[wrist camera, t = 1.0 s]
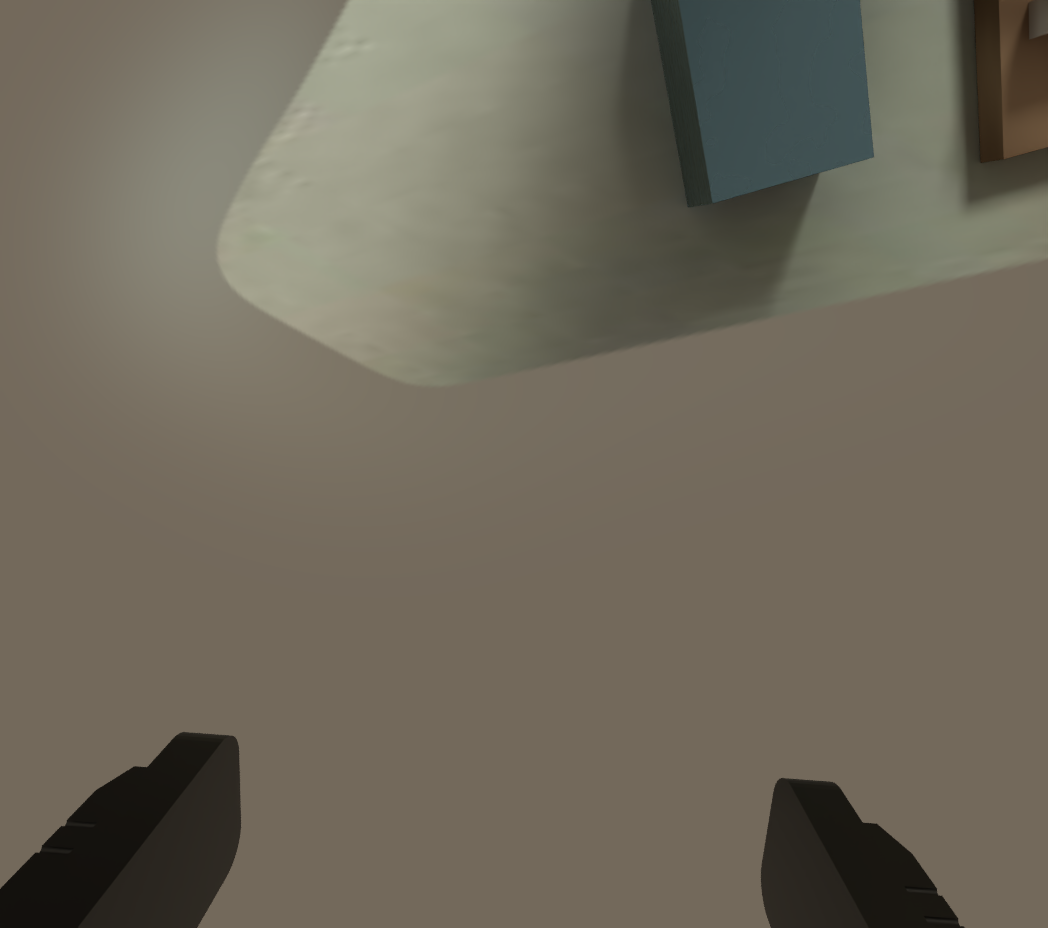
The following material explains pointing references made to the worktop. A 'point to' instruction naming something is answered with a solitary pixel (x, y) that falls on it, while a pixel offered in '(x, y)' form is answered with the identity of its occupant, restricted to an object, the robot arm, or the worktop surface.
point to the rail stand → (1011, 76)
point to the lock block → (763, 91)
